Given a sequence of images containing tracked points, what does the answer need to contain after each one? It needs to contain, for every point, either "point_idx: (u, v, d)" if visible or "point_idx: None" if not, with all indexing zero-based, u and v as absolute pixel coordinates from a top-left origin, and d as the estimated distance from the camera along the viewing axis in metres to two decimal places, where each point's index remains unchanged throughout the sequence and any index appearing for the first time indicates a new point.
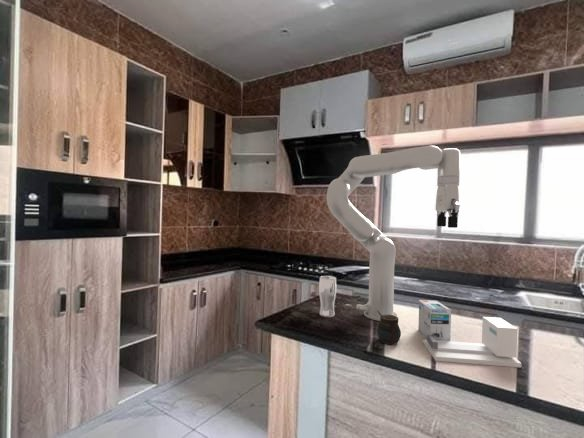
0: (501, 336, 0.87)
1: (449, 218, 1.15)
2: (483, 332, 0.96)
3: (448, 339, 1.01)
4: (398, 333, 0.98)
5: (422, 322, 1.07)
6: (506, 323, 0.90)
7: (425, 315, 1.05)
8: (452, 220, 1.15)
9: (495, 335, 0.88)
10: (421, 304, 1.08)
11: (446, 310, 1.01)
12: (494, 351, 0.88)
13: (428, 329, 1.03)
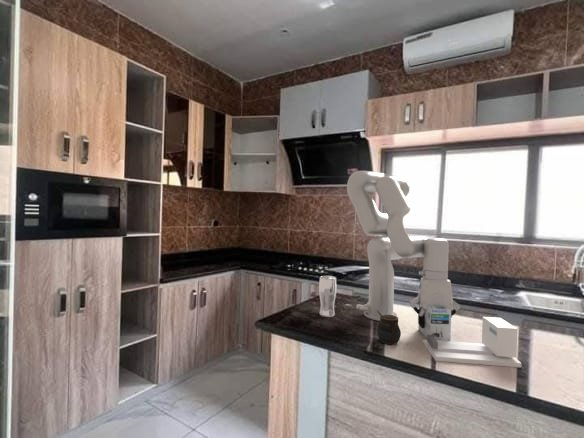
0: (501, 336, 0.87)
1: None
2: (483, 332, 0.96)
3: (448, 339, 1.01)
4: (398, 333, 0.98)
5: None
6: (506, 323, 0.90)
7: (425, 315, 1.05)
8: None
9: (495, 335, 0.88)
10: None
11: (446, 310, 1.01)
12: (494, 351, 0.88)
13: (428, 329, 1.03)
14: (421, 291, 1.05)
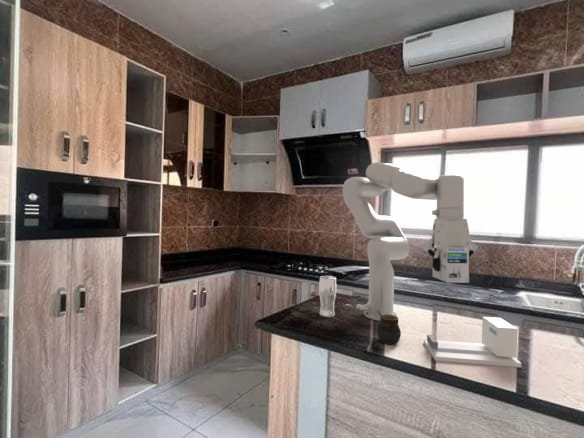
0: (501, 336, 0.87)
1: None
2: (483, 332, 0.96)
3: (466, 279, 0.94)
4: (398, 333, 0.98)
5: None
6: (506, 323, 0.90)
7: (441, 256, 0.97)
8: None
9: (495, 335, 0.88)
10: None
11: (463, 248, 0.94)
12: (494, 351, 0.88)
13: (444, 270, 0.95)
14: (435, 231, 0.98)
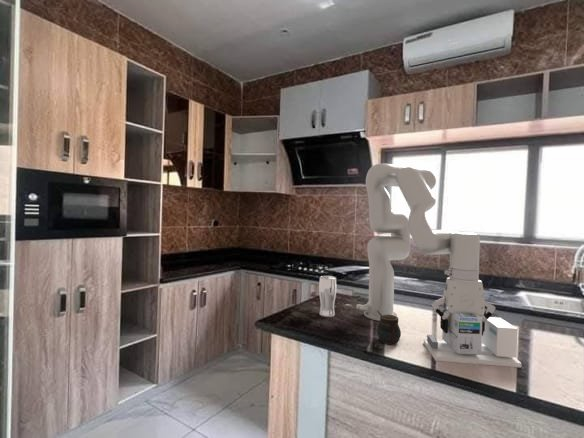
0: (501, 336, 0.87)
1: None
2: (483, 332, 0.96)
3: (479, 351, 0.88)
4: (398, 333, 0.98)
5: (448, 331, 0.94)
6: (506, 323, 0.90)
7: (452, 323, 0.91)
8: None
9: (495, 335, 0.88)
10: None
11: (476, 318, 0.88)
12: (494, 351, 0.88)
13: (455, 340, 0.89)
14: (448, 293, 0.91)
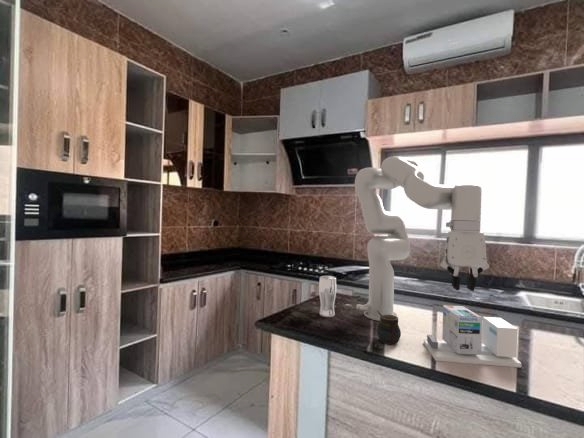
0: (501, 336, 0.87)
1: None
2: (483, 332, 0.96)
3: (479, 351, 0.88)
4: (398, 333, 0.98)
5: (448, 331, 0.94)
6: (506, 323, 0.90)
7: (452, 323, 0.91)
8: None
9: (495, 335, 0.88)
10: (446, 310, 0.95)
11: (477, 318, 0.88)
12: (494, 351, 0.88)
13: (455, 340, 0.89)
14: (449, 245, 0.91)
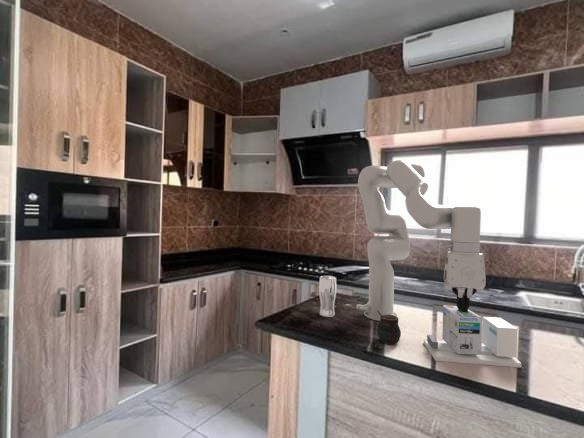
0: (501, 336, 0.87)
1: None
2: (483, 332, 0.96)
3: (479, 351, 0.88)
4: (398, 333, 0.98)
5: (448, 331, 0.94)
6: (506, 323, 0.90)
7: (452, 323, 0.91)
8: None
9: (495, 335, 0.88)
10: (446, 310, 0.95)
11: (476, 318, 0.88)
12: (494, 351, 0.88)
13: (455, 340, 0.89)
14: (449, 266, 0.91)
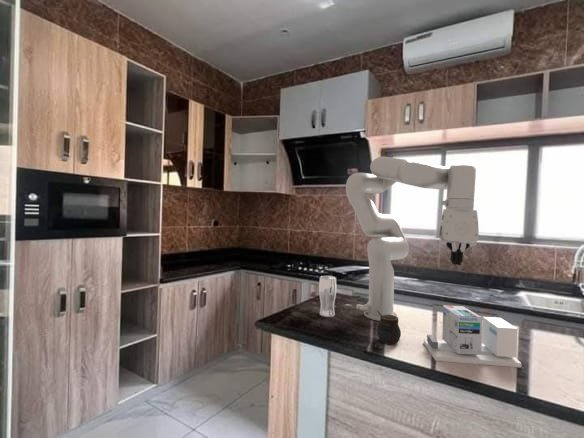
0: (501, 336, 0.87)
1: (460, 254, 0.97)
2: (483, 332, 0.96)
3: (479, 351, 0.88)
4: (398, 333, 0.98)
5: (448, 331, 0.94)
6: (506, 323, 0.90)
7: (452, 323, 0.91)
8: None
9: (495, 335, 0.88)
10: (446, 310, 0.95)
11: (476, 318, 0.88)
12: (494, 351, 0.88)
13: (455, 340, 0.89)
14: (444, 221, 0.96)
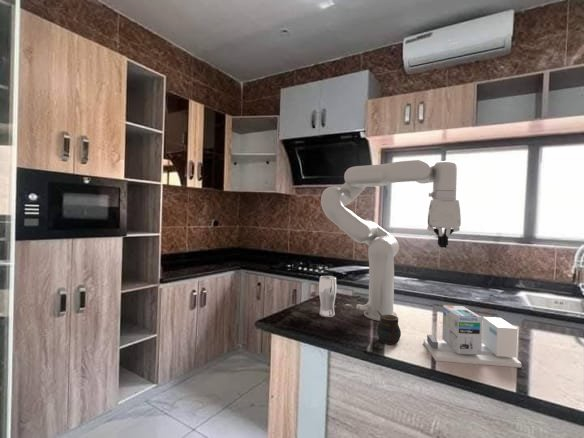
0: (501, 336, 0.87)
1: None
2: (483, 332, 0.96)
3: (479, 351, 0.88)
4: (398, 333, 0.98)
5: (448, 331, 0.94)
6: (506, 323, 0.90)
7: (452, 323, 0.91)
8: (447, 240, 1.13)
9: (495, 335, 0.88)
10: (446, 310, 0.95)
11: (476, 318, 0.88)
12: (494, 351, 0.88)
13: (455, 340, 0.89)
14: (431, 210, 1.12)
